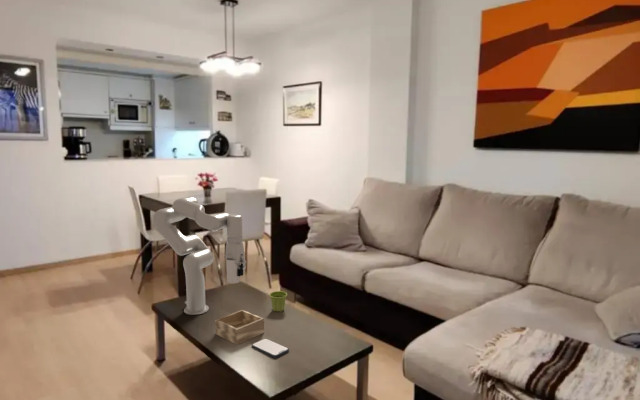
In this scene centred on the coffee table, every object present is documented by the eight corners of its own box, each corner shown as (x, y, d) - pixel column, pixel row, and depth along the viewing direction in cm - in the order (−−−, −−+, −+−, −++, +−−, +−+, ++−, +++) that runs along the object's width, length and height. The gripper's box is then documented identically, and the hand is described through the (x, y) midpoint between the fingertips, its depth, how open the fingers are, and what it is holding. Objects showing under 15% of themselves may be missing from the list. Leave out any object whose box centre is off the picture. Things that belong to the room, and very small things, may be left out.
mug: (229, 284, 207) (228, 261, 206) (224, 280, 213) (223, 257, 211) (248, 281, 213) (248, 258, 211) (243, 277, 218) (242, 255, 217)
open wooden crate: (215, 334, 198) (215, 320, 197) (242, 323, 210) (242, 309, 209) (237, 344, 188) (237, 329, 187) (264, 332, 200) (263, 318, 199)
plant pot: (290, 308, 228) (290, 293, 227) (279, 314, 221) (279, 298, 219) (277, 305, 233) (276, 290, 232) (266, 310, 226) (265, 295, 224)
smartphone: (250, 348, 186) (275, 359, 176) (250, 344, 186) (274, 356, 176) (265, 341, 193) (290, 352, 182) (265, 337, 193) (290, 348, 182)
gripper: (218, 238, 213) (219, 272, 215) (240, 243, 202) (240, 279, 204) (229, 235, 218) (230, 269, 221) (252, 241, 207) (252, 276, 210)
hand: (235, 273), depth 212 cm, fingers closed on mug, 6 cm apart
